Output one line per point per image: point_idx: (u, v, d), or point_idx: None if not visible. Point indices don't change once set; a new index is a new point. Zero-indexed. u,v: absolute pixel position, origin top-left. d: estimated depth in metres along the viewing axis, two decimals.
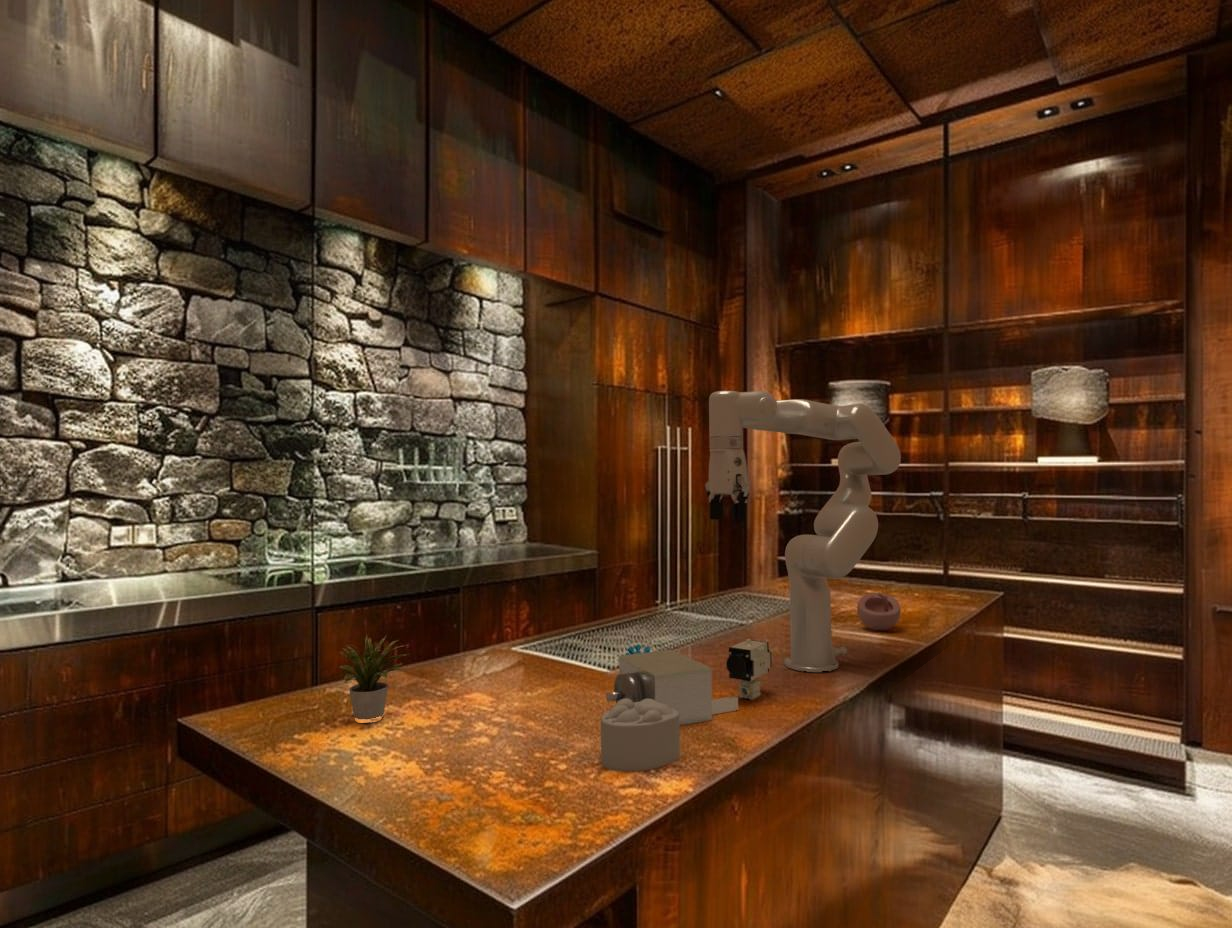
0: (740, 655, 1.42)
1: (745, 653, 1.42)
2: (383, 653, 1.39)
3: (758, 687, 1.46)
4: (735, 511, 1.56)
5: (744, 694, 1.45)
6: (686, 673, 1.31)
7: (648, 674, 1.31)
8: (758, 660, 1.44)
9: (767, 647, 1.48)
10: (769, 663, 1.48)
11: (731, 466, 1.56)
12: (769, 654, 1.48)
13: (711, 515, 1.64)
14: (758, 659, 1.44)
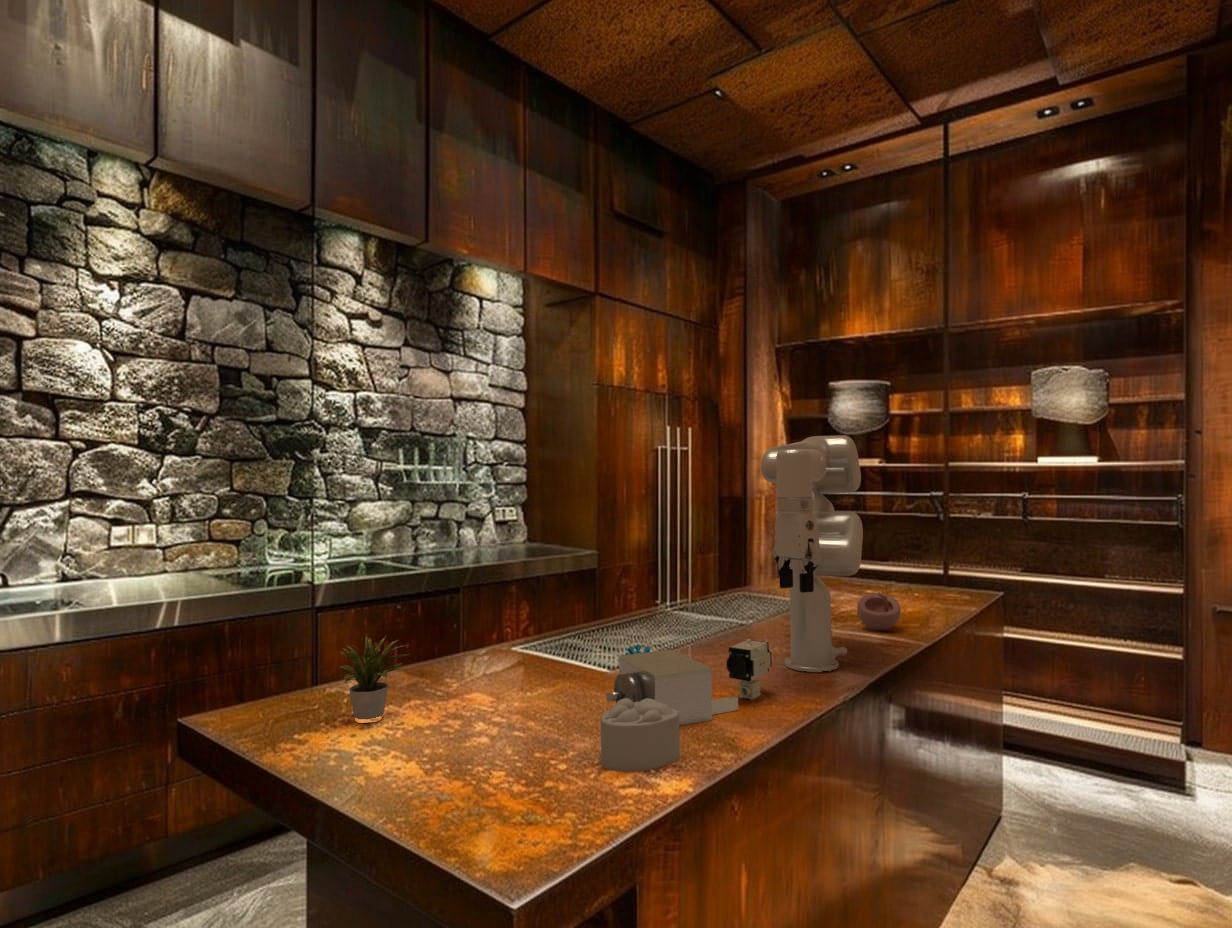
0: (740, 655, 1.42)
1: (745, 653, 1.42)
2: (383, 653, 1.39)
3: (758, 687, 1.46)
4: (803, 582, 1.48)
5: (744, 694, 1.45)
6: (686, 673, 1.31)
7: (648, 674, 1.31)
8: (758, 660, 1.44)
9: (767, 647, 1.48)
10: (769, 663, 1.48)
11: (803, 530, 1.47)
12: (769, 654, 1.48)
13: (781, 584, 1.54)
14: (758, 659, 1.44)
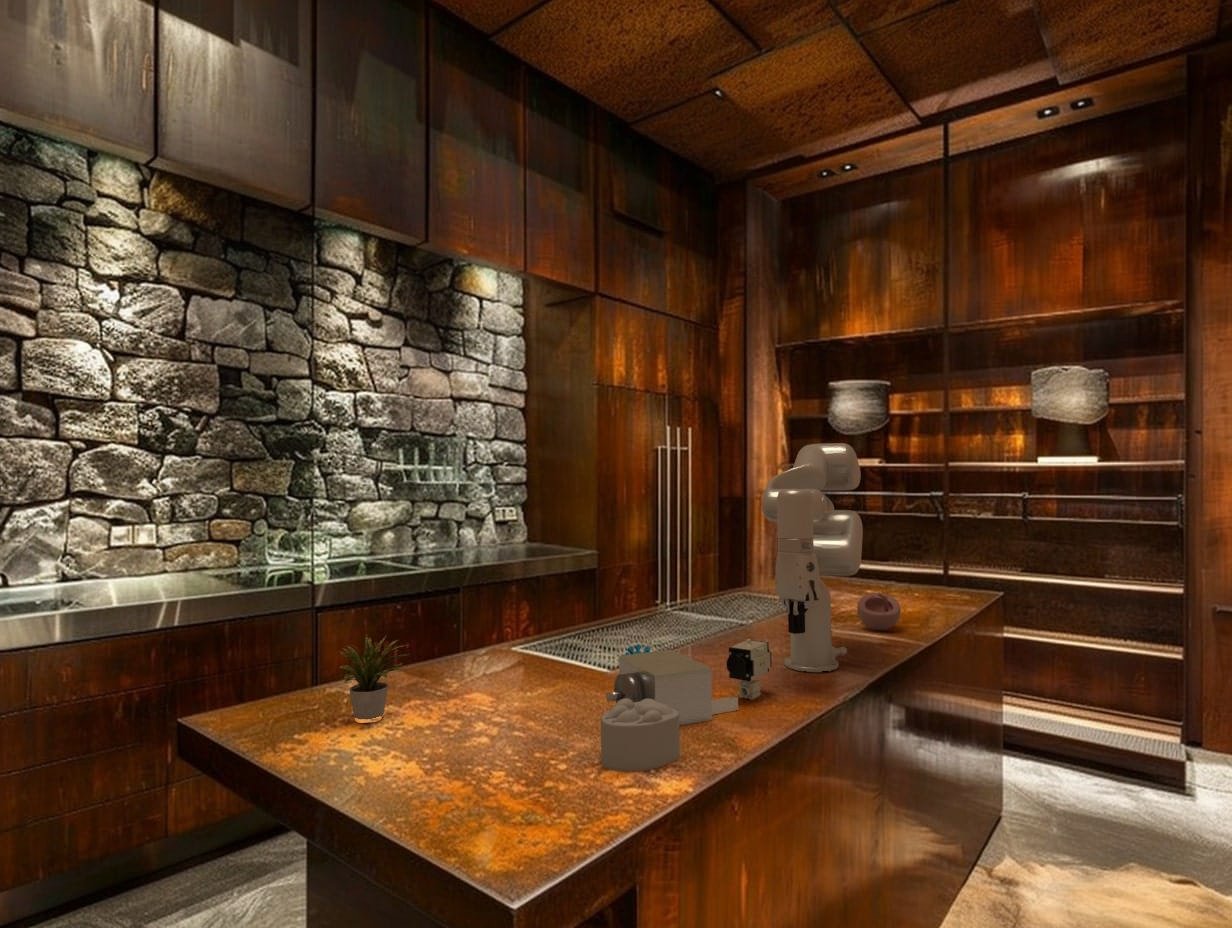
0: (740, 655, 1.42)
1: (745, 653, 1.42)
2: (383, 653, 1.39)
3: (758, 687, 1.46)
4: (794, 623, 1.50)
5: (744, 694, 1.45)
6: (686, 673, 1.31)
7: (648, 674, 1.31)
8: (758, 660, 1.44)
9: (767, 647, 1.48)
10: (769, 663, 1.48)
11: (803, 572, 1.47)
12: (769, 654, 1.48)
13: (790, 628, 1.51)
14: (758, 659, 1.44)
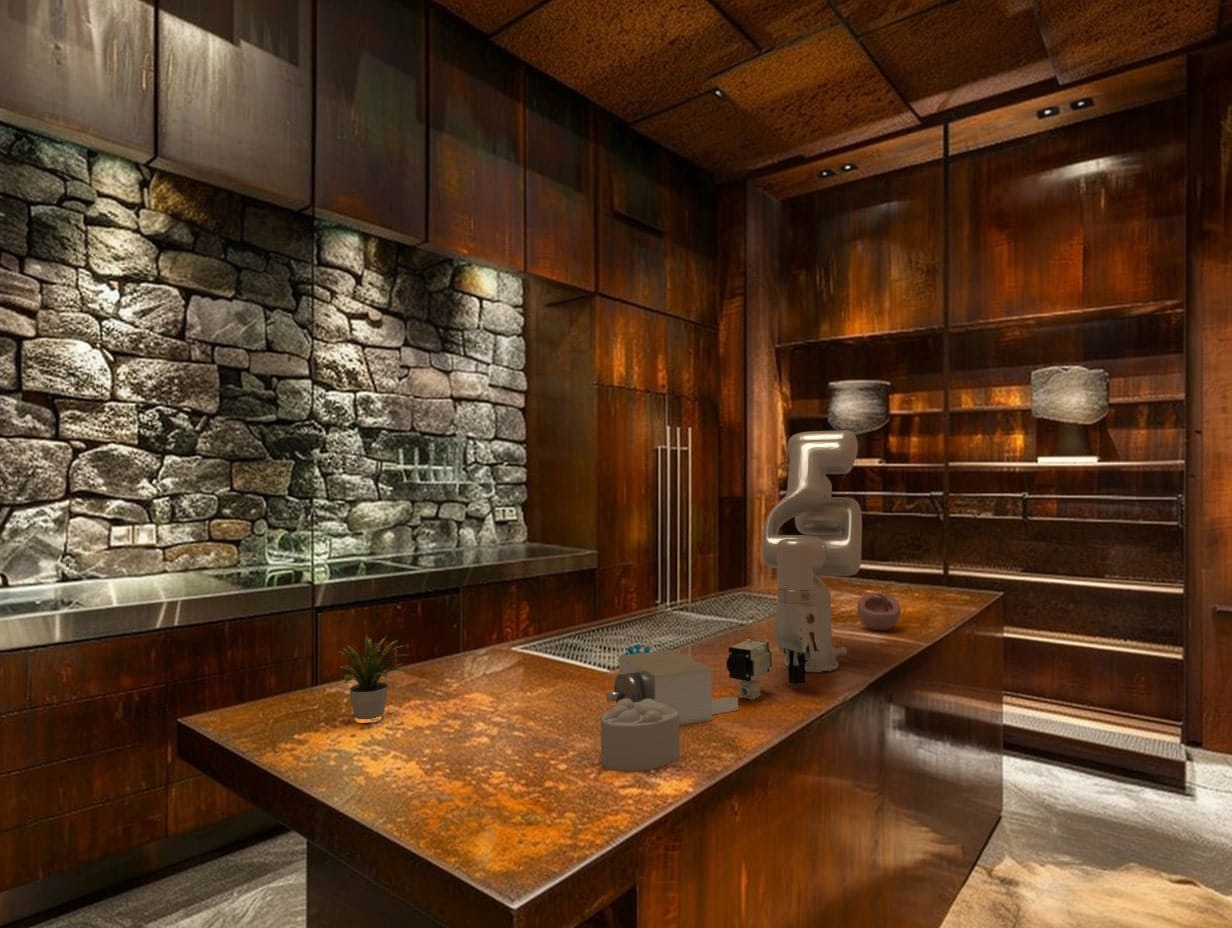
0: (740, 655, 1.42)
1: (745, 653, 1.42)
2: (383, 653, 1.39)
3: (758, 687, 1.46)
4: (795, 673, 1.50)
5: (744, 694, 1.45)
6: (686, 673, 1.31)
7: (648, 674, 1.31)
8: (758, 660, 1.44)
9: (767, 647, 1.48)
10: (769, 663, 1.48)
11: (803, 624, 1.46)
12: (769, 654, 1.48)
13: (790, 678, 1.51)
14: (758, 659, 1.44)
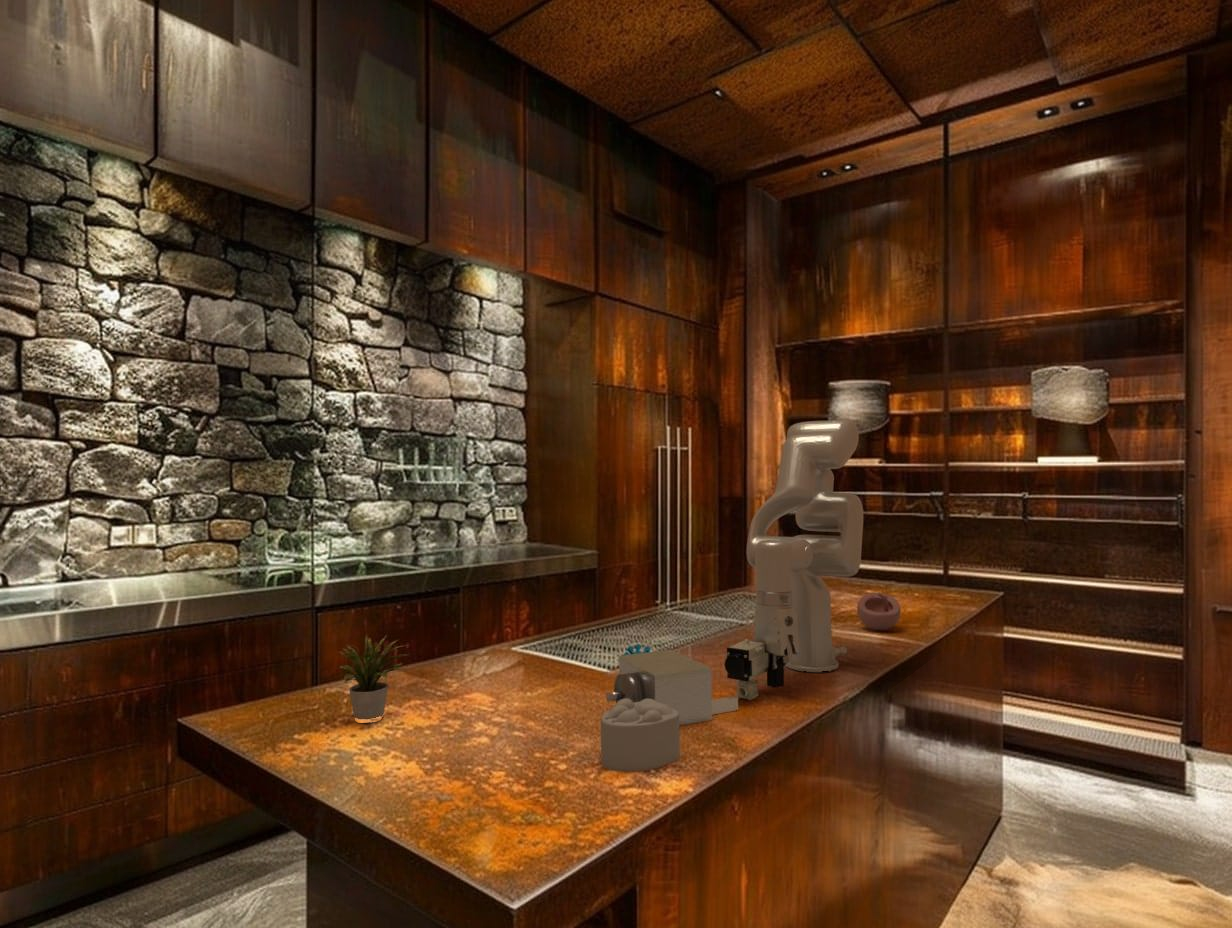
0: (738, 655, 1.42)
1: (743, 653, 1.42)
2: (383, 653, 1.39)
3: (756, 687, 1.46)
4: (773, 677, 1.48)
5: (742, 694, 1.45)
6: (686, 673, 1.31)
7: (648, 674, 1.31)
8: (756, 660, 1.43)
9: (765, 647, 1.48)
10: (767, 663, 1.48)
11: (782, 627, 1.44)
12: (767, 654, 1.48)
13: (769, 682, 1.48)
14: (756, 659, 1.44)
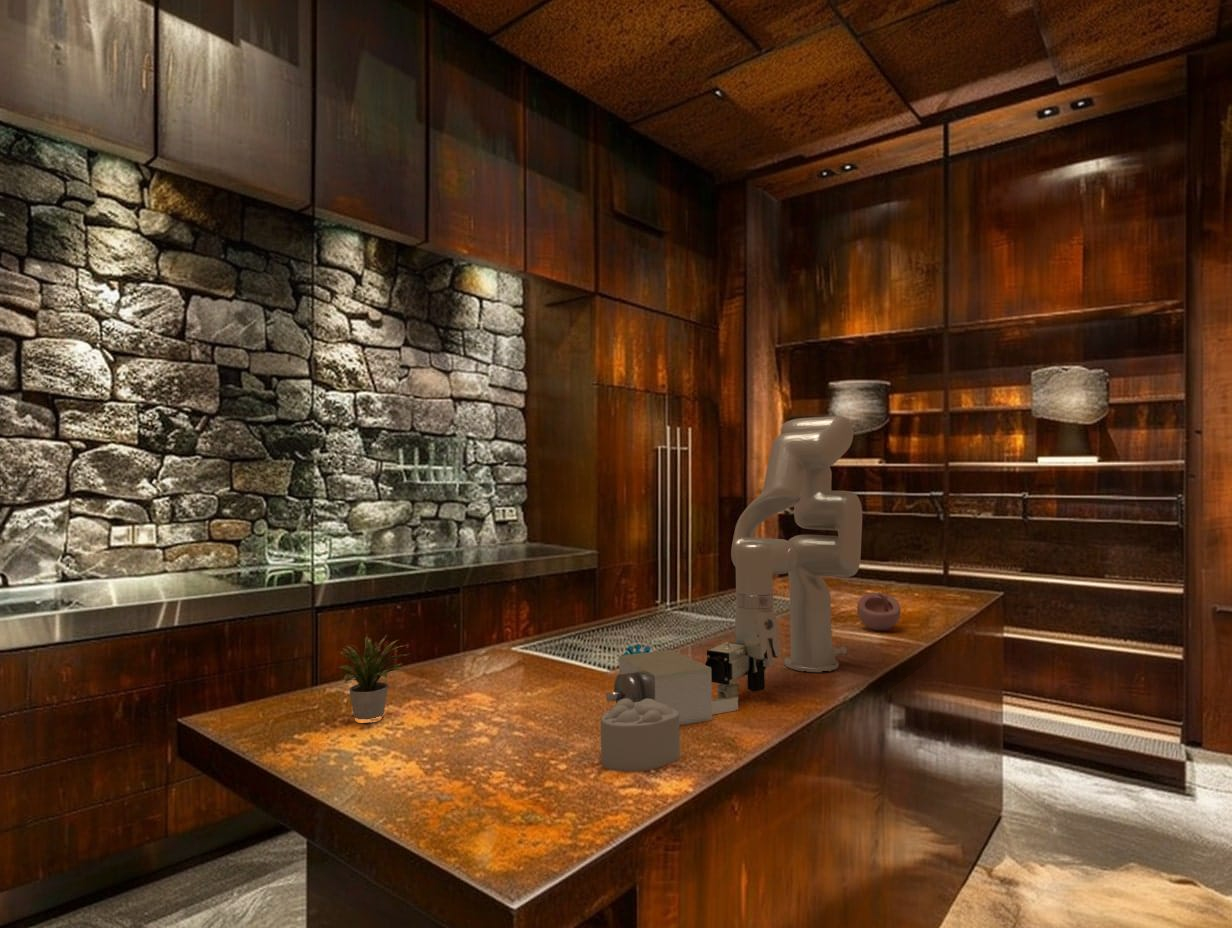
0: (718, 658, 1.40)
1: (723, 656, 1.40)
2: (383, 653, 1.39)
3: (736, 690, 1.44)
4: (753, 680, 1.46)
5: None
6: (686, 673, 1.31)
7: (648, 674, 1.31)
8: (736, 663, 1.42)
9: (745, 650, 1.46)
10: (747, 666, 1.46)
11: (761, 630, 1.42)
12: (747, 657, 1.46)
13: (749, 685, 1.47)
14: (736, 662, 1.42)
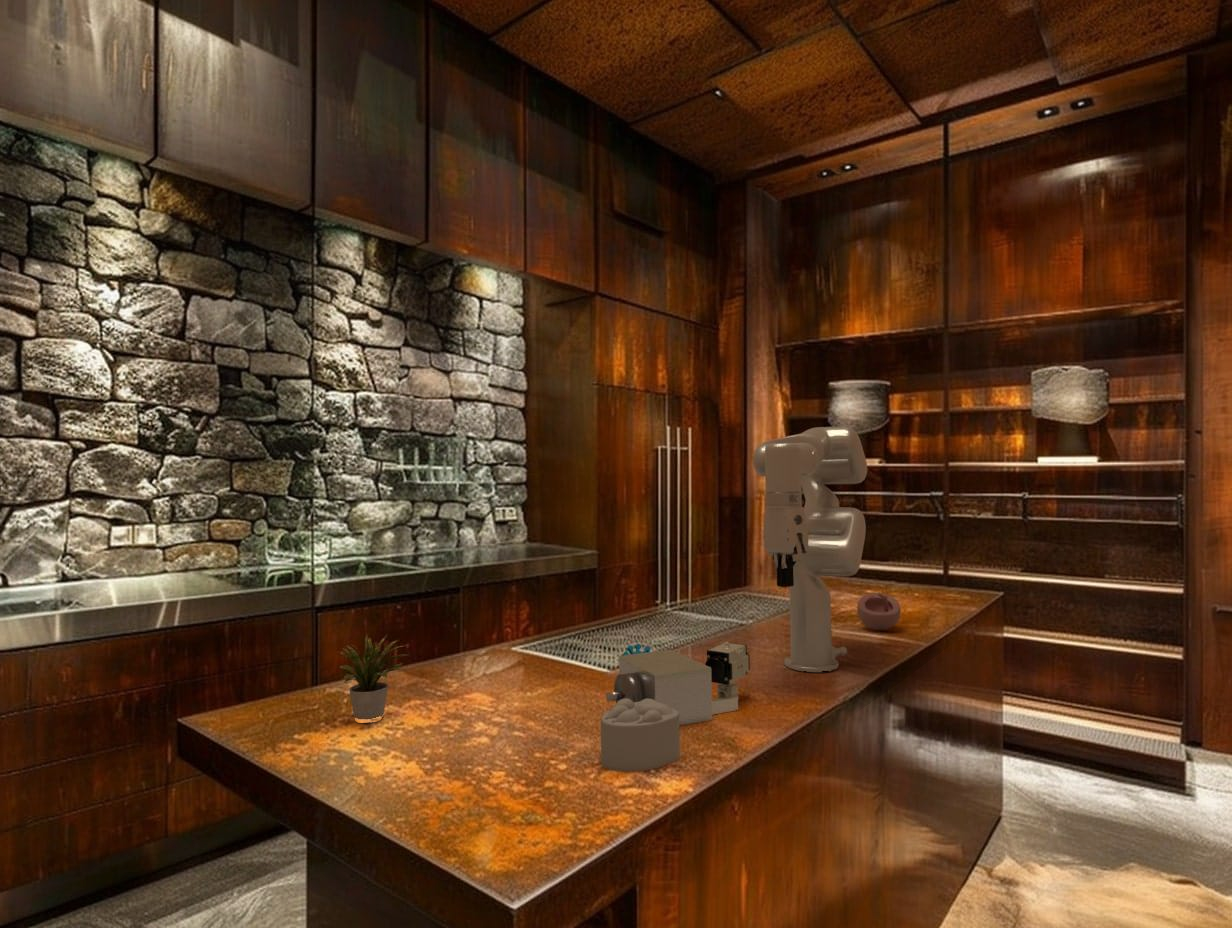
0: (718, 658, 1.40)
1: (723, 656, 1.40)
2: (383, 653, 1.39)
3: (736, 690, 1.44)
4: (783, 576, 1.50)
5: None
6: (686, 673, 1.31)
7: (648, 674, 1.31)
8: (736, 663, 1.42)
9: (745, 650, 1.46)
10: (747, 666, 1.46)
11: (791, 525, 1.46)
12: (747, 657, 1.46)
13: (779, 582, 1.50)
14: (736, 662, 1.42)
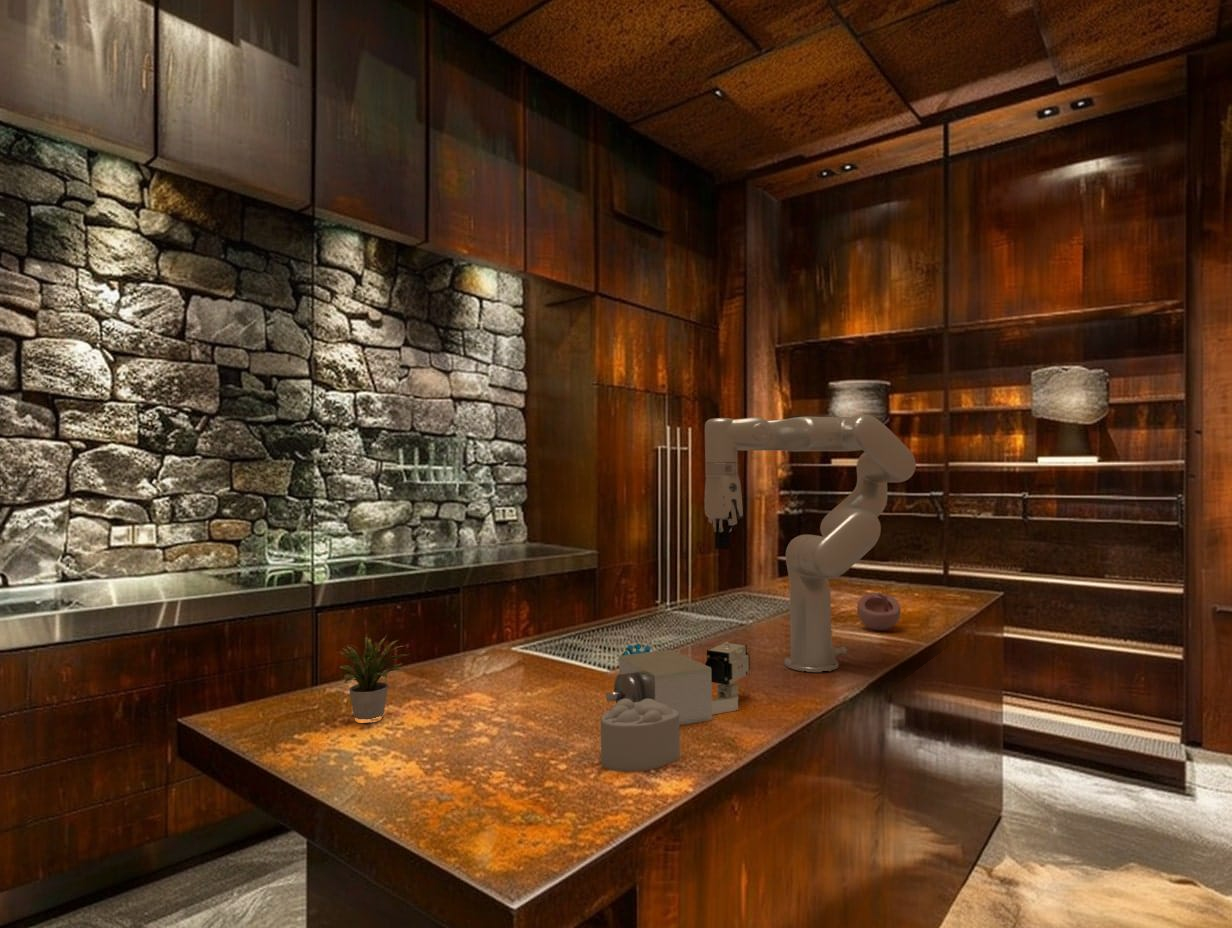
0: (718, 658, 1.40)
1: (723, 656, 1.40)
2: (383, 653, 1.39)
3: (736, 690, 1.44)
4: (720, 539, 1.64)
5: None
6: (686, 673, 1.31)
7: (648, 674, 1.31)
8: (736, 663, 1.42)
9: (745, 650, 1.46)
10: (747, 666, 1.46)
11: (726, 492, 1.61)
12: (747, 657, 1.46)
13: (717, 545, 1.65)
14: (736, 662, 1.42)
